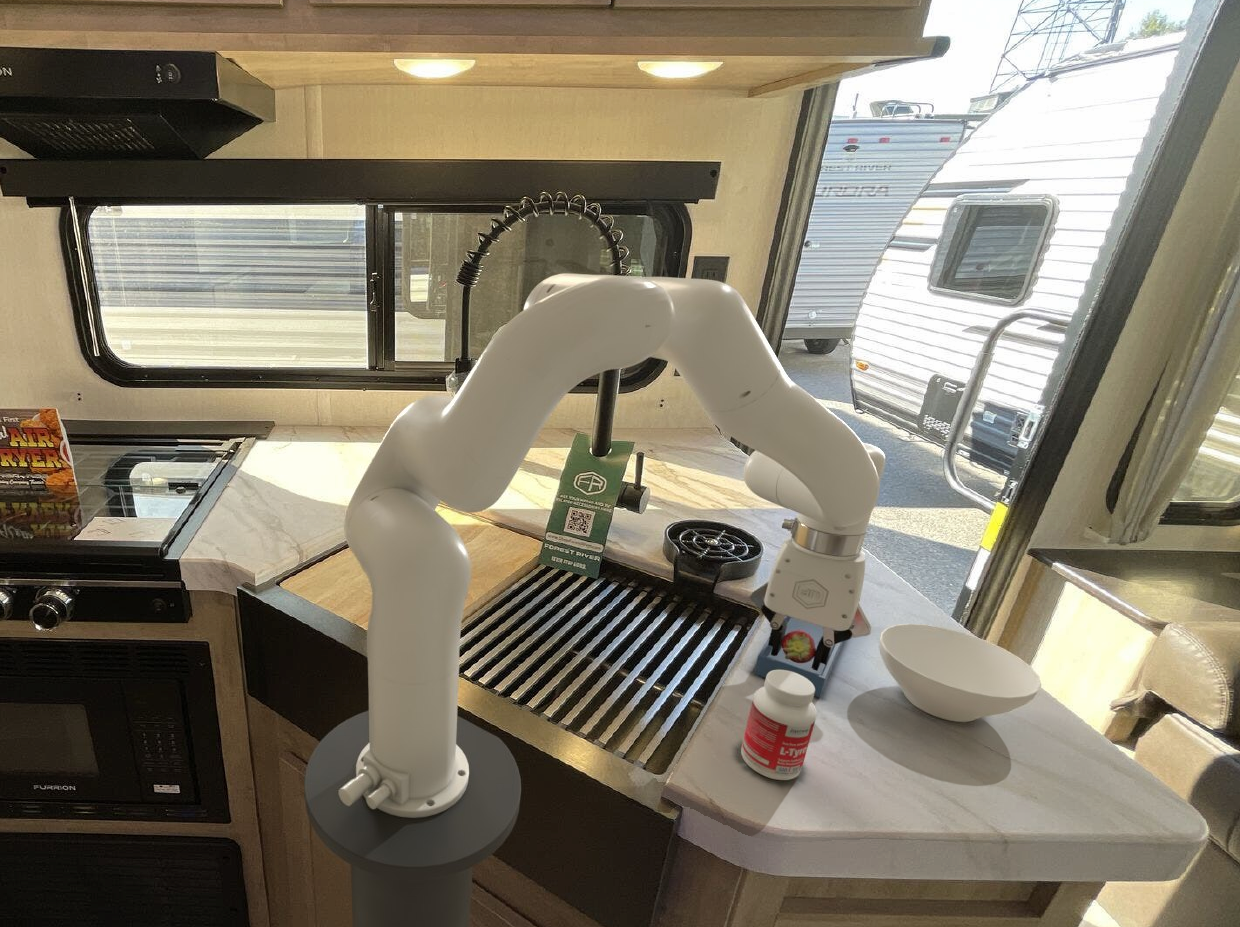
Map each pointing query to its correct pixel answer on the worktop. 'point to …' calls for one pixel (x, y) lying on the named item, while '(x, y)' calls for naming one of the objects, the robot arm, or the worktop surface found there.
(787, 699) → the pill bottle
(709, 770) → the worktop surface
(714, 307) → the robot arm
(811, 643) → the fruit
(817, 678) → the tray
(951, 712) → the bowl
